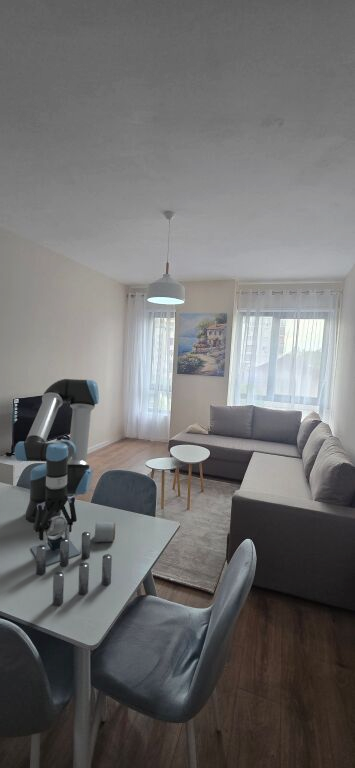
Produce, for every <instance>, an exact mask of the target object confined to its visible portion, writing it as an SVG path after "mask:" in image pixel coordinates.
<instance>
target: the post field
mask: <svg viewBox="0 0 355 768" xmlns="http://www.w3.org/2000/svg"><path fill="white" fill-rule="evenodd" d="M63 538H64V537H63ZM69 540H70V538H69V539H68V538H64V539H61V540H60V562H59V567H61V568H66V567H68V566H69V564H70V563H69V562H70V558H69ZM39 545H40V544H39ZM80 556H81V559H82V560H84V561H85V560H88V559H90V556H91V532H90V531H84V532H82V534H81V553H80ZM35 558H36V559H35V560H36V562H35V565H36V566H35V567H36V569H35V570H36V571H35V573H36V576H40V577H41V576H44V575H45V574H46V571H47V569H46V567H47V566H46V546H45V545H40V546H38V547H37V556H36V557H35ZM112 560H113V556H112V554H110V553H108V554H104V555H103V556H102V563H101V564H102V565H101V566H102V567H101V568H102V569H101V585H102V586H105V587H106V586H109V585H111V584H112V563H113V562H112ZM78 565H79V566H78V590H77V591H78V592H77V593H78V595H79V596H83V597H84V596H87V595H88V593H89V580H90V578H89V576H90V575H89V573H90V572H89V571H90V564H89V563H88V562H86V561H85V562H82V563H80V564H78ZM64 579H65V573H64V571H56V572H54V573H53V575H52V605H53V607H60V606H62V605H63V604H64V583H65V580H64Z"/></svg>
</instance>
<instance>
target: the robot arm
mask: <svg viewBox="0 0 355 768" xmlns="http://www.w3.org/2000/svg"><path fill="white" fill-rule="evenodd" d="M99 397H100V394H99V387H98V382H97V381H96V380H94V379H93V380H91V379H75V378H74V379H73V378H72V379H70V378H63V379H59V380H57V381H55V382H53V383H52V384H51V385H50V386H49V387H47V389H46V390H45V391H44V392H43V394H42V397H41V404H40V407H39V409H38V411H37V413H36V416H35V419H34V421H33V423H32V425H31V427H30V430H29V432H28V435H27V436H26V439H25V441H18V442H17V443H16V444H15V447H14V458H15V460H17V461H20V462H45V463H43V464H39V465H37V466H34V467H33V468H32V469H31V471H30V474H29V475H30V477H29V502H28V505H27V507H26V510H25V520H26V521H27V522H30V523H34V524H33V530H34V532H35V533H38V540H39V541H40V543H41V545H45V546H46V543H47V535H46V531H45V527H46V525H47V523H48V520H49V519H51V518H52V517H56V516H61V514H63V516H64V517H63V518H64V519H65V521H66V522H67V528H66V531H65V533H64V537H65V538H68V539H69V540H70V533H71V532H72V530H73V529H72V527H73V524H74V523H76V522H77V521H78V518H77V513H76V507H75V502H76V498H75V497H74V495H75V496H78V495H79V496H80V495H82V496H83V495H86V494H87V493H88V491H89V489H90V486H91V483H92V478H93V469H92V468H91V467H90V463H89V462H87V458H88V449H89V448H88V447H89V438H90V437H89V436H90V427H91V416H92V415H91V414H92V411H93V410H94V409H95V407H96V405H98V404H99V401H100V398H99ZM64 403H66V404H69V407H70V408H71V409H72V414H71V415H72V416H71V423H70V433H69V440H63V441H61V442H47V439H48V436H49V435H50V431H51V429H52V425H53V424H54V421H55V418H56V417H57V413H58V411H59V408H60V407H61V406H63V404H64ZM68 495H70V496H68ZM67 502H68V505H69V506H68V507H69V513H70V514H69V513H68V511H67V508H66V504H67Z"/></svg>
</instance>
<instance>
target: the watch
mask: <svg viewBox="0 0 355 768" xmlns="http://www.w3.org/2000/svg"><path fill="white" fill-rule="evenodd" d="M57 520H63V524H62V527H61V529H60V531H59V532H57V533H54V534H51V532H52V531H53V530H54V527H55V524H56V522H57ZM66 528H67V521H66V519H65V517H62V516H61V515H60V516H56V517H52V518H51V519H49V520H48V523H47V525H46V527H45V531H46V538H47V542H48V545H49V547H50V549H51V550H52V551H54V550H57V549H60V540H61V539H63V538H64V537H63V536H64V535H65V531H66Z"/></svg>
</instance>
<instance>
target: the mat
mask: <svg viewBox="0 0 355 768" xmlns="http://www.w3.org/2000/svg"><path fill="white" fill-rule="evenodd" d="M62 538H63V539H64V538H65V536H64V537H62ZM40 545H41V544H37V545H34V546H32V547H30V550H31V552H32V553H33V555H34V556H35V558H36V556H37V547H38V546H40ZM77 556H81V553H80V551H79V550H78V548H76V546H75V545H74V544H73V542H72V541H71V540H70V539H69V559H72V558H75V557H77ZM57 563H60V549H57V550H54V551H52V550H51V549H50V547H49V545H48V541H46V567H49V566H52V565H54V564H57Z"/></svg>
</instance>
